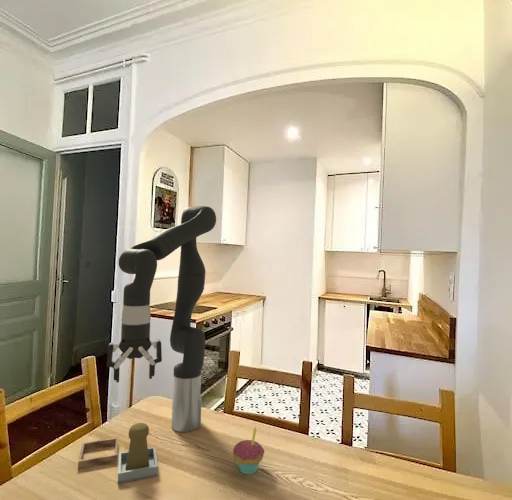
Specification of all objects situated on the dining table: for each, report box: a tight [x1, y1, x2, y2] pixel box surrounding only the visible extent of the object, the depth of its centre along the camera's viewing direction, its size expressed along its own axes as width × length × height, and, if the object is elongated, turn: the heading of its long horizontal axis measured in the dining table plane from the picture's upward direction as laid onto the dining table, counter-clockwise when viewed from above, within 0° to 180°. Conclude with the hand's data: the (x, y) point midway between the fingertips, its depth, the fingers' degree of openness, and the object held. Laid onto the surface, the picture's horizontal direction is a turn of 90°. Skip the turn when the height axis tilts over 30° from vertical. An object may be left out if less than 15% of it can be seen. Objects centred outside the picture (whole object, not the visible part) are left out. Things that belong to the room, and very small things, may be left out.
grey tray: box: [117, 446, 159, 485], centre depth 90 cm, size 10×10×2 cm
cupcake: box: [232, 425, 265, 475], centre depth 92 cm, size 9×8×12 cm
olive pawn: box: [125, 422, 150, 471], centre depth 90 cm, size 6×6×11 cm
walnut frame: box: [77, 437, 119, 470], centre depth 95 cm, size 10×10×2 cm
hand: (134, 379), depth 93 cm, fingers open, 8 cm apart
